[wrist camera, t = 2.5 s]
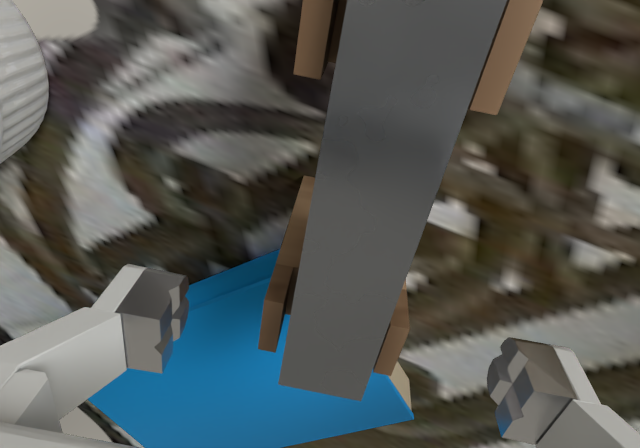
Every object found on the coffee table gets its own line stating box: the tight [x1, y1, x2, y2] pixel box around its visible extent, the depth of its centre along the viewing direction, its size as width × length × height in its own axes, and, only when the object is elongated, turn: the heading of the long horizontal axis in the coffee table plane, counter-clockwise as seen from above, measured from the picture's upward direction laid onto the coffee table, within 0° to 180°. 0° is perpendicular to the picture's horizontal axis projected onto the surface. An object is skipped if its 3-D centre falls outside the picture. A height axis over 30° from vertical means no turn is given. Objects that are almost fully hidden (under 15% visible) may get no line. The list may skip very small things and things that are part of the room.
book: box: [88, 249, 414, 448], centre depth 36 cm, size 17×4×25 cm
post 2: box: [294, 0, 543, 115], centre depth 16 cm, size 6×3×11 cm, turn 81°
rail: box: [278, 0, 507, 401], centre depth 15 cm, size 4×16×4 cm, turn 170°
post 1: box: [258, 176, 410, 376], centre depth 23 cm, size 6×3×11 cm, turn 80°
